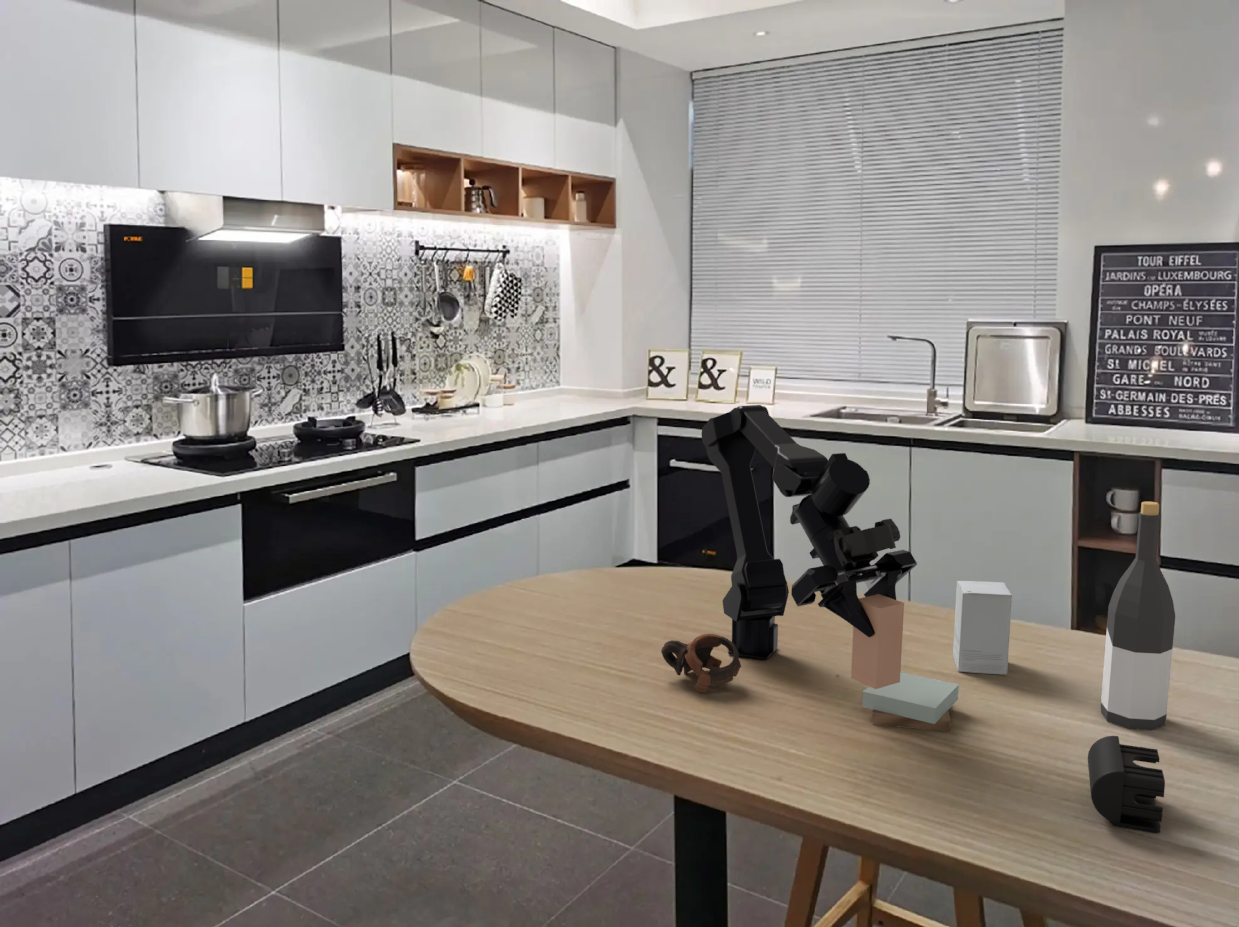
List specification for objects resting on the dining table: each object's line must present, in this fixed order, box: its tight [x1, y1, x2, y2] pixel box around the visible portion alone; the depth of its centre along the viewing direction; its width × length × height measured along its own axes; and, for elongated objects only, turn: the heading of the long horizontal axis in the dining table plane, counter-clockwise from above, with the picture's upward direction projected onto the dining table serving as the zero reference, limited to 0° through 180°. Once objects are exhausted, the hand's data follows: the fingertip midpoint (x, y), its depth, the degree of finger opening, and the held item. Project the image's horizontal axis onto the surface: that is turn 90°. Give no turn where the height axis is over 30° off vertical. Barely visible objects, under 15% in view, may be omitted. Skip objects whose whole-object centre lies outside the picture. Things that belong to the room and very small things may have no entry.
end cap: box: [1087, 735, 1166, 834], centre depth 119 cm, size 10×7×7 cm
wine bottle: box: [1100, 500, 1176, 731], centre depth 141 cm, size 8×8×30 cm
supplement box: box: [952, 580, 1013, 676], centre depth 163 cm, size 7×7×13 cm
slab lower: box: [871, 708, 951, 732], centre depth 146 cm, size 10×10×2 cm
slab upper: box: [861, 672, 960, 724], centre depth 145 cm, size 10×10×2 cm
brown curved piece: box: [660, 633, 742, 694], centre depth 157 cm, size 12×10×8 cm
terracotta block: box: [850, 594, 905, 689], centre depth 140 cm, size 4×4×11 cm
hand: (885, 632), depth 139 cm, fingers closed on terracotta block, 4 cm apart
